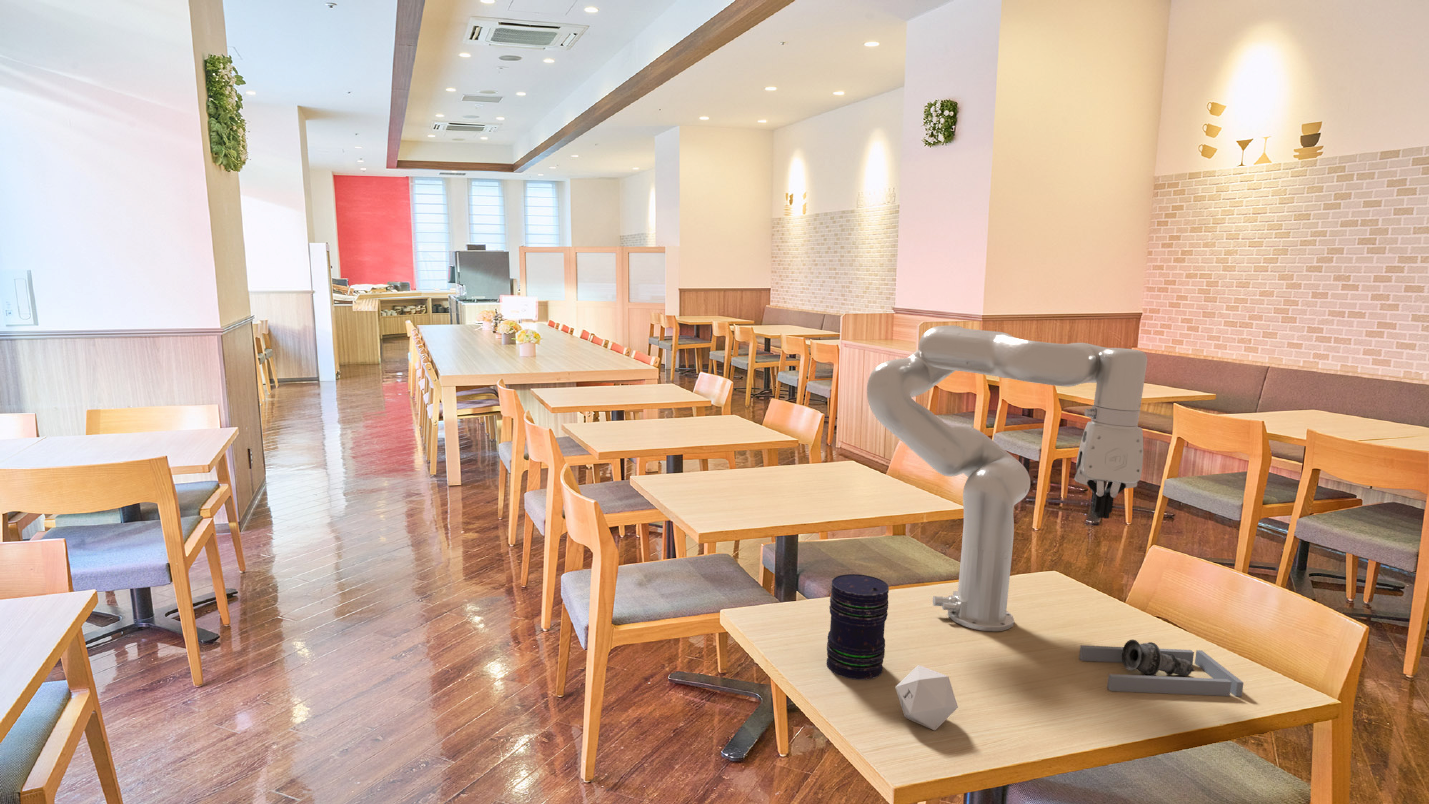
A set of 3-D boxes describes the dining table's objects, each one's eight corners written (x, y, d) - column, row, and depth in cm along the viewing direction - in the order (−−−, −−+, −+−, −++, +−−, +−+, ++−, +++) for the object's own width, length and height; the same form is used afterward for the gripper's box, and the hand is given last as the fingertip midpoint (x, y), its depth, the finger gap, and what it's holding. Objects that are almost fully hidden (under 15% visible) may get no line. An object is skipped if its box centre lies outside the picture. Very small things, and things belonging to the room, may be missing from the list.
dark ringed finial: (1119, 670, 145) (1181, 685, 146) (1140, 673, 139) (1205, 689, 140) (1122, 637, 147) (1183, 652, 148) (1143, 638, 141) (1207, 654, 142)
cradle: (1110, 690, 137) (1111, 676, 137) (1079, 658, 149) (1080, 645, 149) (1241, 696, 137) (1243, 682, 137) (1200, 663, 149) (1201, 650, 149)
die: (897, 705, 131) (881, 672, 126) (945, 680, 131) (931, 646, 126) (921, 748, 124) (905, 715, 119) (971, 722, 124) (958, 688, 119)
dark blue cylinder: (814, 665, 142) (819, 583, 140) (846, 648, 149) (851, 569, 147) (863, 686, 136) (869, 600, 133) (894, 667, 143) (900, 585, 140)
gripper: (1079, 418, 144) (1065, 518, 147) (1167, 424, 143) (1152, 526, 146) (1065, 410, 151) (1052, 506, 154) (1148, 417, 150) (1134, 513, 153)
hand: (1100, 515), depth 150 cm, fingers closed
